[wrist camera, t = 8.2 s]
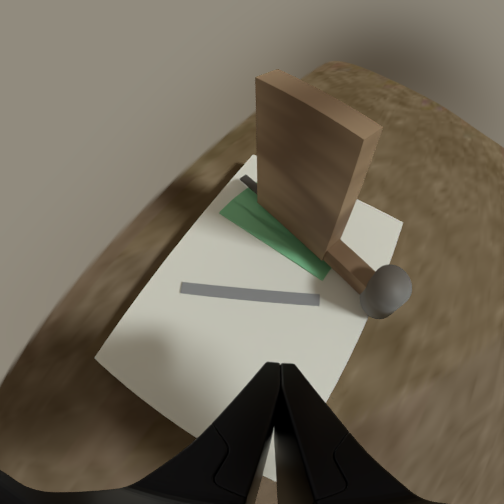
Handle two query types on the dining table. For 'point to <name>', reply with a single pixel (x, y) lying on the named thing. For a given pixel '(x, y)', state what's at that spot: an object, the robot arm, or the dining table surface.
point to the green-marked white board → (242, 309)
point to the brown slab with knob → (320, 179)
